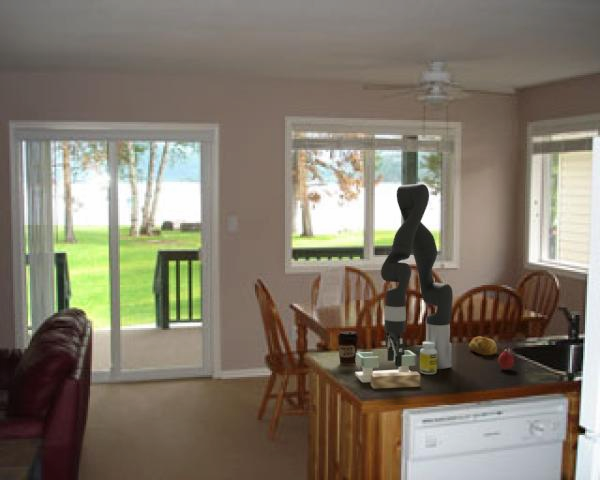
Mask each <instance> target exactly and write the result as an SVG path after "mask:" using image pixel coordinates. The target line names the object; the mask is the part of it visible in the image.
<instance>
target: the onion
mask: <svg viewBox="0 0 600 480" xmlns="http://www.w3.org/2000/svg"><path fill="white" fill-rule="evenodd" d="M497 361H498V364H499V365H500V367H501V368H502V369H503V370H504V371H507V370H509V369H510V368H512V367H513V365H514V363H515V358H514V355H512V354H511V352H509V351H508V350H507V349H504V351H503V352H501V354H500V355H499V356H498V359H497Z"/></svg>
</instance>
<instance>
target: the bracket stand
mask: <svg viewBox="0 0 600 480" xmlns="http://www.w3.org/2000/svg"><path fill="white" fill-rule="evenodd" d="M399 352H400V351H399ZM355 359H356V360H355V361H356V364H358V365H359V366H360V367H361V368H362V371H355V372H354V376H355V377H356V378H357V379H358V380H359V381H360V382H362V383H371V374H374V373H396V372H412V370H410V367H411V366H413V367H414V366H416V364H417V354H416V353H414V352H412V351H411V350H410V349H409V350H408V349H407V350H405V354H404V355H403V356H402V366H401V367H398V369H386V370H385V369H384V370H373V369H374V368H379V367H380V366H379V365H380V364H379V361H380V357H379V356H374V352H373V351H366V352H365V351H364V352H363V351H362V352H361V351H360V352H357V353H356V358H355ZM392 362H393V363H395V352H394V360H393V361H392Z"/></svg>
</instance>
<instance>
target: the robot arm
mask: <svg viewBox="0 0 600 480" xmlns="http://www.w3.org/2000/svg"><path fill="white" fill-rule="evenodd" d="M429 200H430V192H429V188H428V187H427V185H426V184H424V183H413V184H402V185H400V186H398V187H397V190H396V201H397V205H398V207H399V211H400V214H401V217H402V218H403V221H404V222H403V223H402V224H401V226H399V228H398V229H397V231H396V233H395V234H394V238H393V242H392V245H391V249H390V252H389V253H388V255H387V257H386V259H384V262H383V264H382V265H381V268H380V275H381V278H382V280H383V281H384V282H388V283H389V282H390V283H398V285H397V287H394V288H389V289H387V290H386V292H385V306H384V323H383V324H384V329H383V330H384V332H385V348H386V350H387V361H388V362H394V361H393V360H394V352H395V362H394V366H395V367H396V368H399V367H401V366H402V356H403V355H404V354H405V348H406V347H405V340H406V339H405V337H402V334H403V333H405V332H406V330H407V329H406V328H407V309H406V308H407V307H406V305H407V304H406V301H407V300H406V298H407V296H406V295H407V290H408V288H409V287H408V286H409V283H410V280H411V277H412V268H411V265H410V264H409V263H406V262H400V261H405V260H408V259H409V258H410V256H411V254H412V255H413V258H414V261H415V265H416V270H417V274H418V280H419V286H420V293H421V297H422V300H423V302H424V303H425V305H428V306H433V307H436V311H435V313H432V314H427V315H426V319H425V320H426V321H425V342H426V341H430V342H434V343H435V347H434V349H436V350H437V370H442V369H448V368H452V352H453V349H452V345H453V344H452V342H451V338H450V337H451V329H450V328H451V319H452V314H453V296H454V294H453V289H452V286H450V284H448V283H441V282H435V280H434V277H433V267H434V265H435V262H436V260H437V257H438V247H437V245H436V239H435V237H434V235H433V233H432V231H430V229H429V228H428V227H427V226H426V225H425V224H423V222H422V220H423V217H424V215H425V212H426V209H427V208H428V204H429V202H430V201H429ZM399 351H400V352H399Z"/></svg>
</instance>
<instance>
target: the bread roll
mask: <svg viewBox="0 0 600 480" xmlns="http://www.w3.org/2000/svg"><path fill="white" fill-rule="evenodd" d="M468 348H469V350H470V351H472V352H474V353H475V354H478V355H480V356H492V355H495V354H496V353H497V352H498V345H497V343H496V342H495V341H494V340H493V339H492V338H487V337H484V336H480V335H479V336H476V337H473V338H472V340H471V341H470V343H469V344H468Z"/></svg>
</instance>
